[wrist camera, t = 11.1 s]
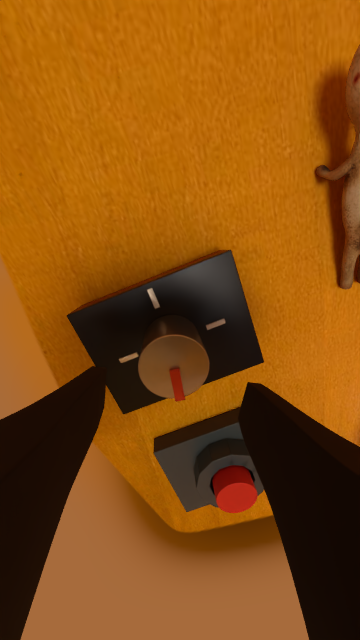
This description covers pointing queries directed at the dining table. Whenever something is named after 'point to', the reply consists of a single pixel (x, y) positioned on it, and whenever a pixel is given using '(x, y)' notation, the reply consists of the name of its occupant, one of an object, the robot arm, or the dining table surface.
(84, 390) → the robot arm
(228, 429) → the switch block
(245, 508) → the switch button
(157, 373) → the dimmer knob
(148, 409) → the dining table surface
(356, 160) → the figurine
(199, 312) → the dimmer panel
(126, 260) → the dining table surface
